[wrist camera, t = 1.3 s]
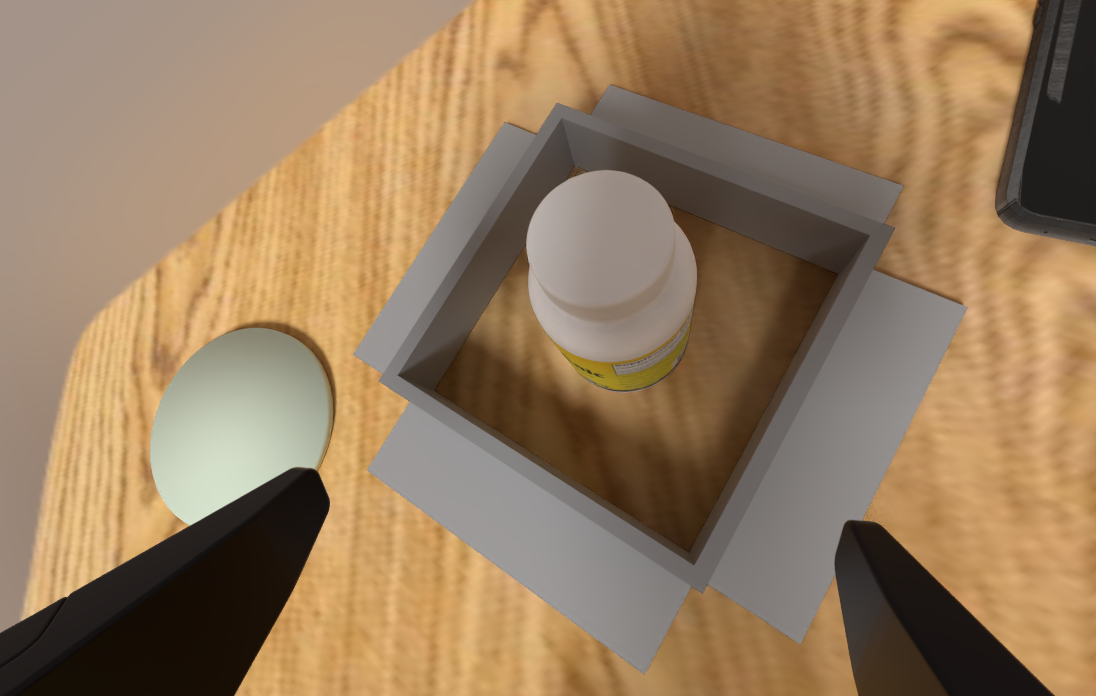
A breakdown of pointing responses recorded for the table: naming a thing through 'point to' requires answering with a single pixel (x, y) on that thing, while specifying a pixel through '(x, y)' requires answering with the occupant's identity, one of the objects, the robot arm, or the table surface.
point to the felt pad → (239, 420)
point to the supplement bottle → (612, 279)
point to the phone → (1055, 129)
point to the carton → (777, 442)
